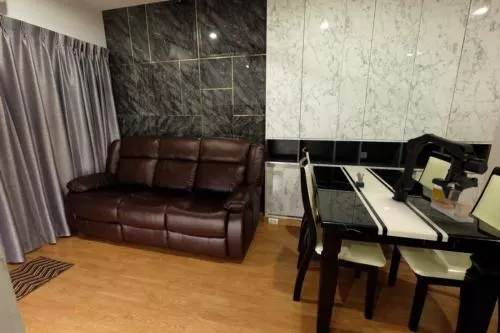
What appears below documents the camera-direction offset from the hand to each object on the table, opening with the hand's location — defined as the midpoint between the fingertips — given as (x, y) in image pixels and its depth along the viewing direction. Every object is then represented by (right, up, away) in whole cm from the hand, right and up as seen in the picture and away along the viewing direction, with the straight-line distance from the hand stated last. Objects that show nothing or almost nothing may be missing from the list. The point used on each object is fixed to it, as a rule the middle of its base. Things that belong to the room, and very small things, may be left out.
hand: (450, 198), depth 121 cm
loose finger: (0, -2, +1) cm, 2 cm away
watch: (-21, +1, +55) cm, 59 cm away
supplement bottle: (+17, -6, +30) cm, 35 cm away
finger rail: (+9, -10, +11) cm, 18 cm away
